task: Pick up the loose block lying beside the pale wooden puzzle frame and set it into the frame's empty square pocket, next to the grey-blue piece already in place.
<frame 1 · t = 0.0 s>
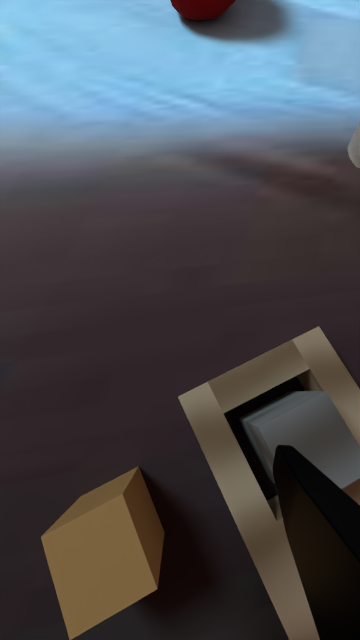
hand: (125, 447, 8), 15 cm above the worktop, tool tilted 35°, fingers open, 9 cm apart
block: (121, 514, 20), on the worktop
red fruit: (202, 12, 36), on the worktop
puzzle frame: (311, 492, 20), on the worktop
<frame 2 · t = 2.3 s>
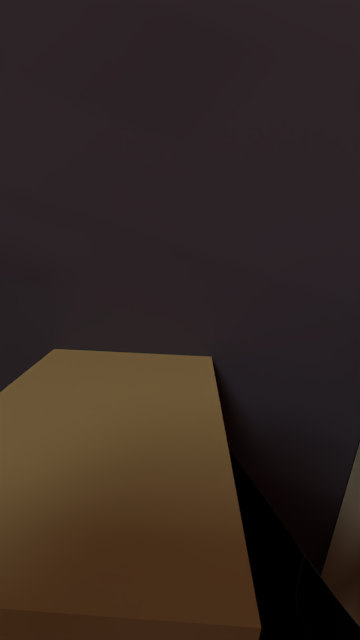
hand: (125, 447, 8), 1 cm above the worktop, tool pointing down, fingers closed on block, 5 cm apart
block: (133, 419, 9), on the worktop, touching gripper
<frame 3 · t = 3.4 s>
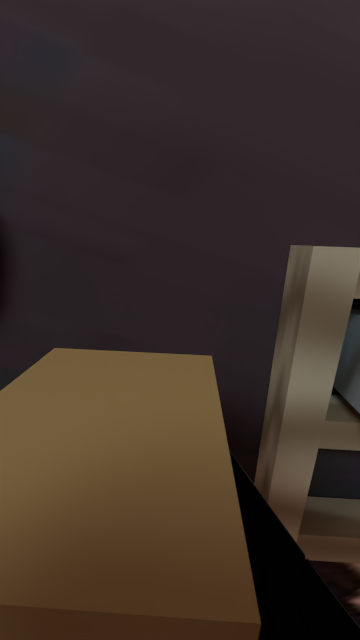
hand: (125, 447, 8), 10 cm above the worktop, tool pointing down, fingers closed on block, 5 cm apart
block: (133, 418, 9), point 9 cm above the worktop, touching gripper
puzzle frame: (354, 408, 19), on the worktop
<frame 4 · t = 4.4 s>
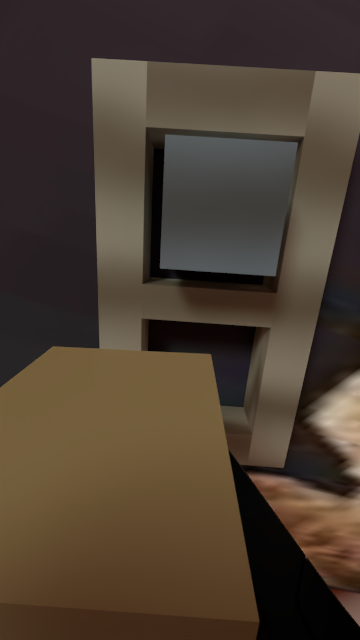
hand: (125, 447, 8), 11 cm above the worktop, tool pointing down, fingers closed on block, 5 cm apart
block: (132, 417, 9), point 10 cm above the worktop, touching gripper
puzzle frame: (204, 295, 18), on the worktop
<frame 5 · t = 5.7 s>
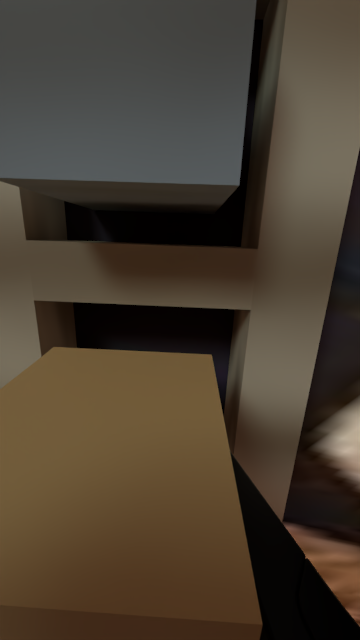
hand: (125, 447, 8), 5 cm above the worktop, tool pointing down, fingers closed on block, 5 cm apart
block: (133, 417, 9), point 4 cm above the worktop, touching gripper
puzzle frame: (153, 266, 12), on the worktop
when the fingers open (4 cm above the worktop, at t = 6.8 s): block drops 3 cm, resting in puzzle frame.
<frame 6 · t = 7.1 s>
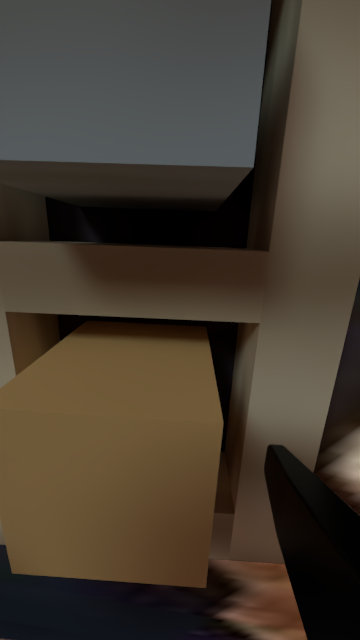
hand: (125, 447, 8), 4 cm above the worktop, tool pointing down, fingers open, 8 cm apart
block: (146, 376, 12), resting in puzzle frame
puzzle frame: (147, 271, 10), on the worktop
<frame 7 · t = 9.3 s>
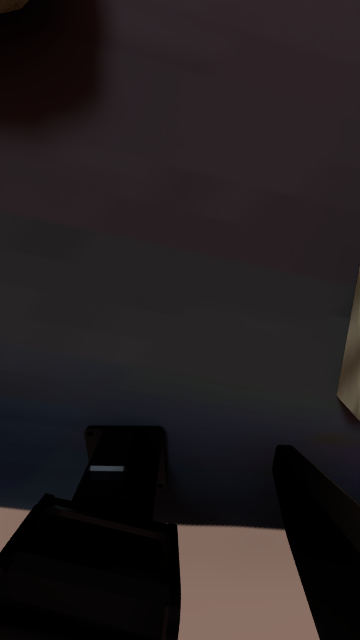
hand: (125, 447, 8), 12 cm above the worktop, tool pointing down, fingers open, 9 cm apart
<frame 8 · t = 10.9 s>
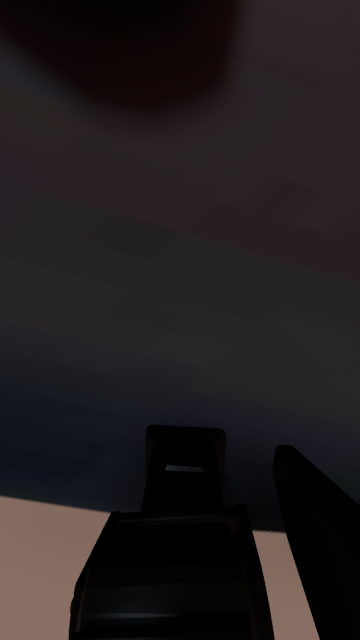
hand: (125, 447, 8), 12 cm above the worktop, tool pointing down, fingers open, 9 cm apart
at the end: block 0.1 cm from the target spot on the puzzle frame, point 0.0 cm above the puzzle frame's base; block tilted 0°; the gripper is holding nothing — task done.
